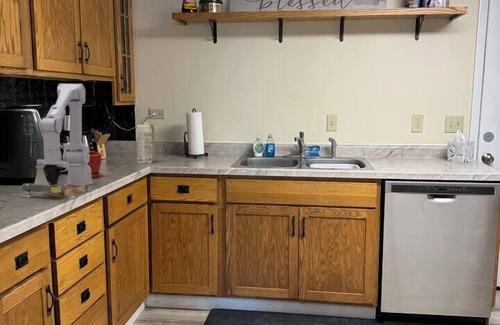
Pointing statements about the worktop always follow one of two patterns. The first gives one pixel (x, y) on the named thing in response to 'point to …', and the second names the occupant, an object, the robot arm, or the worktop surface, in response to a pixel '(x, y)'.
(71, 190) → the bay
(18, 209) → the worktop surface
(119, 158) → the worktop surface
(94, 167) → the plant pot
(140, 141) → the juice carton
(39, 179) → the flask
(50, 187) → the lever
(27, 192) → the lever post
